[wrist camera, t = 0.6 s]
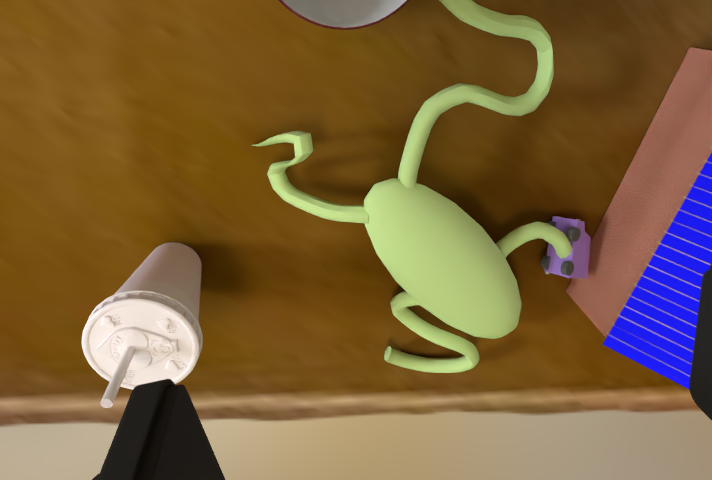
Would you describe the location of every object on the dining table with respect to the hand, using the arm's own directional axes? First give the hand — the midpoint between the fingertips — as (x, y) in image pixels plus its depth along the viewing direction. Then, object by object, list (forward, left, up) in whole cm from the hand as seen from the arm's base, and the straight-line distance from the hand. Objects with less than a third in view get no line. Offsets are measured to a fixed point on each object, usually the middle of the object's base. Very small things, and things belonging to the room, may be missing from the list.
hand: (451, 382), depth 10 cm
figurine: (+9, +5, -28) cm, 30 cm away
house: (+14, +24, -28) cm, 39 cm away
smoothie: (+9, -14, -28) cm, 33 cm away
